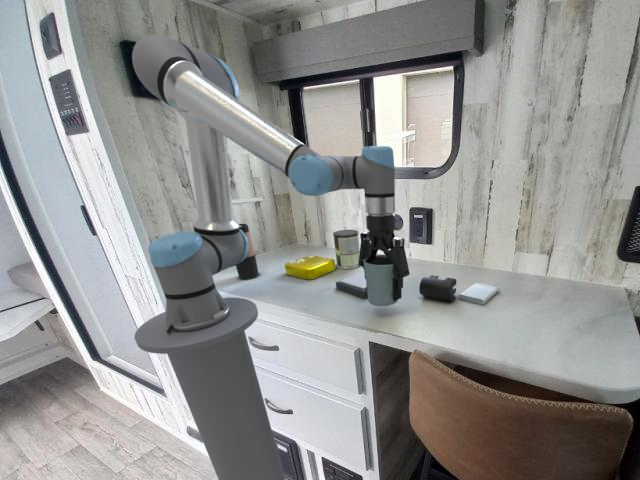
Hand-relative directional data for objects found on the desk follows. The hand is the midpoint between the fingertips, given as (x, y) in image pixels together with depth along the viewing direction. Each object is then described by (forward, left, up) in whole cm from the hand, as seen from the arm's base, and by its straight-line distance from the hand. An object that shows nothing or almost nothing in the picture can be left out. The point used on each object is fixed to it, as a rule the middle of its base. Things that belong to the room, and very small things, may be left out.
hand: (383, 294), depth 87 cm
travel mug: (-9, +65, -6) cm, 66 cm away
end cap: (+17, -7, -6) cm, 20 cm away
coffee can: (+24, +43, -6) cm, 49 cm away
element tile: (+9, +49, -6) cm, 50 cm away
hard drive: (+27, -16, -6) cm, 32 cm away
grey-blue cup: (0, 0, -2) cm, 2 cm away
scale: (+10, +19, -6) cm, 22 cm away
